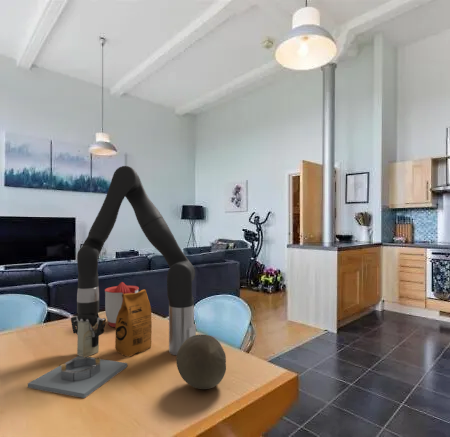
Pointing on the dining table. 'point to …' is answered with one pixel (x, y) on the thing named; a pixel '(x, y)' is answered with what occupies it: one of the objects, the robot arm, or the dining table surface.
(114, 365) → the board
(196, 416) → the dining table surface
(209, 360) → the dark grey round ball
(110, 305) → the citrus juicer
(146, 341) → the coffee package
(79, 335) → the skincare box
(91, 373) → the collar
